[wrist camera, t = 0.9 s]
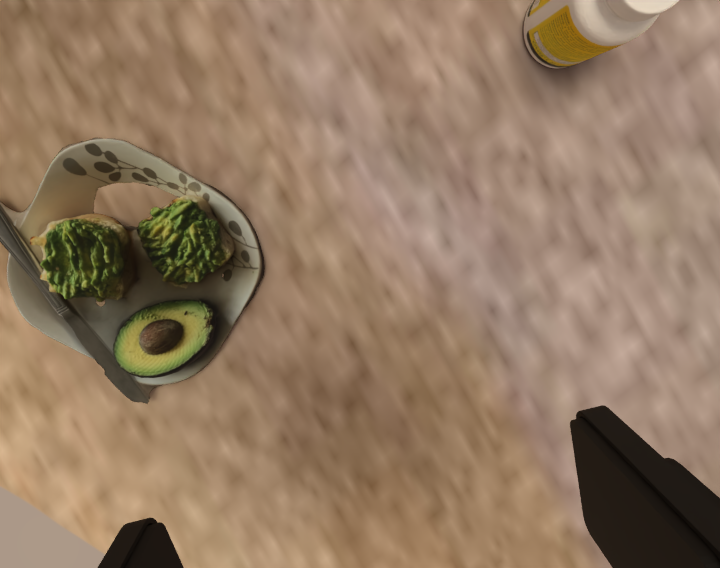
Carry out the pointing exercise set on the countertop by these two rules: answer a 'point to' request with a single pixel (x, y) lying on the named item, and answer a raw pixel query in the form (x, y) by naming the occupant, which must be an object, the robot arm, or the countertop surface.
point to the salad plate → (131, 266)
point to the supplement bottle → (585, 27)
